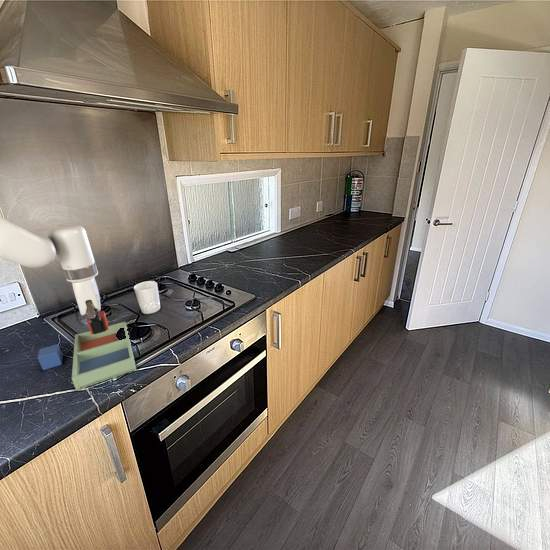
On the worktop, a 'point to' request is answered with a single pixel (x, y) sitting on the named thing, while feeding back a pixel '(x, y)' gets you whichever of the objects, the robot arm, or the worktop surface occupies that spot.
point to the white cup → (147, 296)
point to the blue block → (50, 357)
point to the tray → (101, 356)
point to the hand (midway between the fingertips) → (99, 327)
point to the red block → (101, 318)
